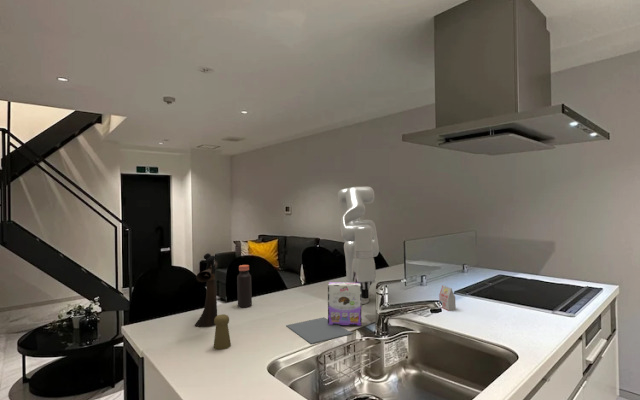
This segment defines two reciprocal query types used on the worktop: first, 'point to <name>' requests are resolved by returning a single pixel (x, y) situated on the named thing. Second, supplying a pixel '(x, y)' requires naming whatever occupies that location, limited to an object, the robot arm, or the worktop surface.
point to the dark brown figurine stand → (208, 293)
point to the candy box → (344, 303)
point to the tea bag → (447, 298)
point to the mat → (318, 330)
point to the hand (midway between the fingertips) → (364, 297)
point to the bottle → (244, 287)
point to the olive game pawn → (221, 332)
